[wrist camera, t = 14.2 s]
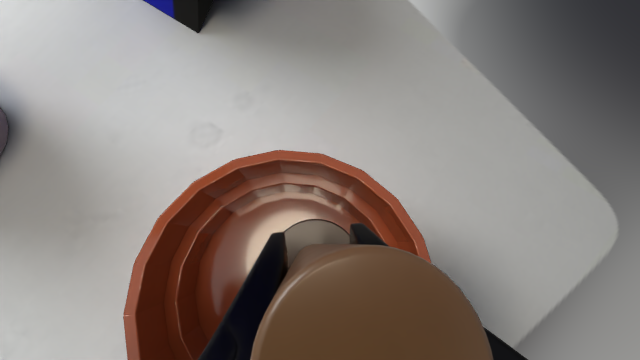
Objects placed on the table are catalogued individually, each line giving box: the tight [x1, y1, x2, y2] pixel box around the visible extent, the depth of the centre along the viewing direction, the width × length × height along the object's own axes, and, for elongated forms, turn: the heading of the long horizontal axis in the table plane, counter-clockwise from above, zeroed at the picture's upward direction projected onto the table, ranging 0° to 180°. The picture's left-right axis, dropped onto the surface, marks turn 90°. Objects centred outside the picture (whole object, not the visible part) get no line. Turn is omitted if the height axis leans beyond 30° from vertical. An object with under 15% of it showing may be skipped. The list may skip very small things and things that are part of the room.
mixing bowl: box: [123, 150, 431, 360], centre depth 15 cm, size 13×13×6 cm
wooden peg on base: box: [250, 219, 493, 360], centre depth 9 cm, size 5×5×14 cm
